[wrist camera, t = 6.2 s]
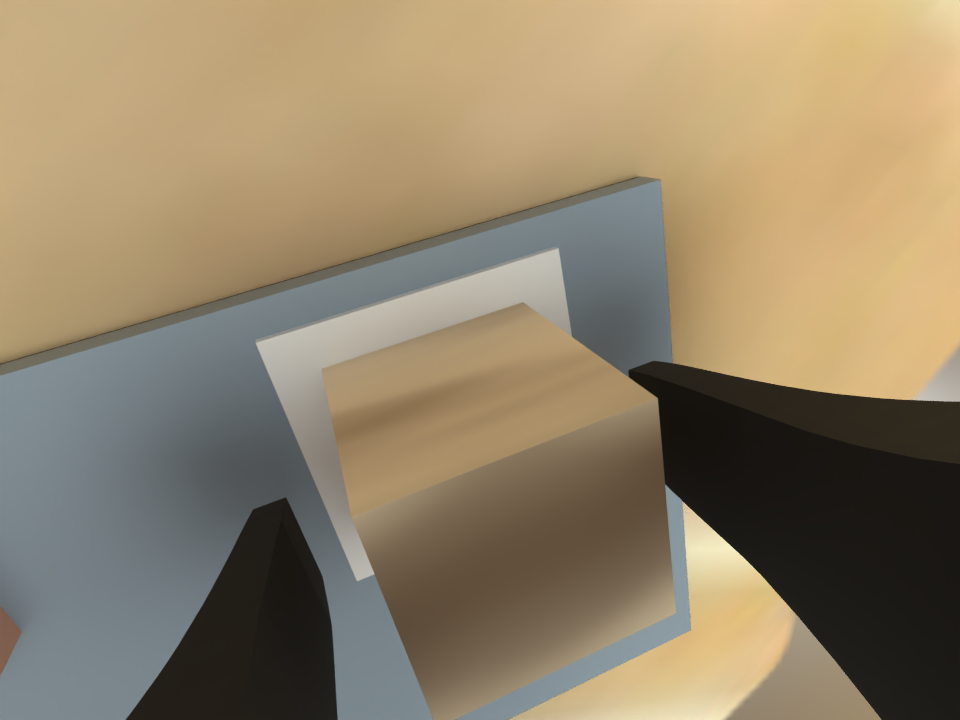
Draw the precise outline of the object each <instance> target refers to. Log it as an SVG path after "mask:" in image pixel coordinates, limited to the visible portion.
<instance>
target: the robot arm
mask: <svg viewBox="0 0 960 720" xmlns="http://www.w3.org/2000/svg"><path fill="white" fill-rule="evenodd" d="M628 374H629V378H630V379H632V380H633V381H634V382H636V383H637V384H639V385H640V386H641V387H643V388H644V389H646V390H647V391H648V392H650V393H651V394H653V395H654V396H655V397H657V398H658V407H659V419H660V430H661V442H662V454H663V466H664V478H665V485H666V486H667V487H668V488H669V489H670V490H671V491H672V492H673V493H675V494H676V495H677V496H678V497H679V498H680V499H681V500H682V501H683V502H684V503H685V504H686V505H687V506H688V507H689V508H690V509H692V510H693V511H694V512H695V513H696V514H697V515H698V516H699V517H700V518H701V519H702V520H704V521H705V522H706V523H707V524H708V525H709V526H710V527H711V528H712V529H713V530H714V531H715V532H717V533H718V534H719V535H720V536H721V537H722V538H723V539H724V540H725V541H726V542H727V543H729V544H730V545H731V546H732V547H733V548H734V549H735V550H736V551H737V552H738V553H739V554H740V555H742V556H743V557H744V558H745V559H746V560H747V561H748V562H749V563H750V564H751V565H752V566H753V567H754V568H755V569H756V570H757V571H758V572H759V573H760V574H761V575H762V576H763V577H764V579H765V580H766V581H767V582H768V583H769V584H770V585H771V586H772V588H773V589H774V590H775V591H776V592H777V593H778V594H779V595H780V597H781V598H782V599H783V600H784V601H785V602H786V603H787V604H788V606H789V607H790V608H791V609H792V610H793V611H794V612H795V613H796V615H797V616H798V617H799V618H800V619H801V620H802V622H803V623H804V624H805V625H806V626H807V628H808V629H809V630H810V631H811V632H812V634H813V635H814V636H815V637H816V638H817V639H818V641H819V642H820V643H821V644H822V645H823V647H824V648H825V649H826V650H827V651H828V653H829V654H830V655H831V656H832V657H833V659H834V660H835V661H836V662H837V663H838V665H839V666H840V667H841V669H842V670H843V671H844V672H845V674H846V675H847V676H848V677H849V679H850V680H851V681H852V683H853V684H854V685H855V686H856V687H857V689H858V690H859V691H860V693H861V694H862V695H863V696H864V697H865V699H866V700H867V701H868V703H869V704H870V705H871V706H872V708H873V709H874V710H875V712H876V713H877V714H878V715H879V717H880V718H881V719H882V720H960V402H943V401H918V400H896V399H882V398H870V397H860V396H851V395H841V394H832V393H825V392H817V391H810V390H804V389H798V388H792V387H786V386H780V385H775V384H770V383H764V382H759V381H754V380H749V379H744V378H740V377H735V376H730V375H726V374H721V373H716V372H712V371H707V370H703V369H698V368H693V367H689V366H684V365H679V364H673V363H667V362H660V361H651V362H648V363H646V364H643V365H640V366H638V367H635V368H632V369H630V370H628ZM126 720H338V717H337V699H336V681H335V664H334V648H333V633H332V623H331V617H330V612H329V606H328V601H327V596H326V591H325V585H324V580H323V576H322V574H321V572H320V569H319V567H318V565H317V563H316V561H315V559H314V556H313V554H312V552H311V550H310V548H309V546H308V543H307V541H306V539H305V537H304V535H303V533H302V530H301V528H300V526H299V524H298V522H297V520H296V517H295V515H294V513H293V511H292V509H291V506H290V504H289V502H288V500H287V498H286V497H285V498H282V499H280V500H277V501H274V502H271V503H269V504H266V505H263V506H261V507H258V508H255V509H253V510H252V512H251V514H250V516H249V518H248V520H247V521H246V523H245V525H244V527H243V529H242V531H241V533H240V535H239V537H238V539H237V541H236V543H235V545H234V547H233V549H232V551H231V553H230V555H229V557H228V559H227V561H226V563H225V565H224V566H223V568H222V570H221V572H220V574H219V576H218V578H217V579H216V581H215V583H214V585H213V587H212V589H211V591H210V592H209V594H208V596H207V598H206V600H205V602H204V603H203V605H202V607H201V608H200V610H199V612H198V613H197V615H196V617H195V618H194V620H193V622H192V623H191V625H190V627H189V628H188V630H187V632H186V633H185V635H184V637H183V638H182V640H181V642H180V643H179V645H178V646H177V648H176V649H175V651H174V652H173V654H172V656H171V657H170V659H169V660H168V662H167V663H166V664H165V666H164V667H163V669H162V670H161V672H160V673H159V675H158V676H157V678H156V679H155V680H154V682H153V683H152V684H151V686H150V687H149V689H148V690H147V691H146V693H145V694H144V695H143V697H142V698H141V700H140V701H139V702H138V704H137V705H136V707H135V708H134V709H133V710H132V712H131V713H130V714H129V716H128V717H127V718H126Z"/></svg>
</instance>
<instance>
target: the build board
mask: <svg viewBox="0 0 960 720" xmlns="http://www.w3.org/2000/svg"><path fill="white" fill-rule="evenodd" d="M522 302H524V303H525V304H526V305H528V306H529V307H531V308H532V309H533V310H535V311H536V312H538V313H539V314H540V315H542V316H543V317H545V318H546V319H547V320H549V321H550V322H552V323H553V324H554V325H556V326H557V327H559V328H560V329H561V330H563V331H564V332H566V333H567V334H568V335H570V336H571V337H573V338H574V339H575V340H577V341H578V342H580V343H581V344H582V345H584V346H585V347H587V348H588V349H589V350H591V351H592V352H594V353H595V354H597V355H598V356H599V357H601V358H602V359H604V360H605V361H606V362H608V363H609V364H611V365H612V366H613V367H615V368H616V369H618V370H619V371H620V372H622V373H623V374H625V375H626V376H627V377H629V374H628V370H630V369H632V368H635V367H638V366H640V365H643V364H646V363H648V362H651V361H660V362H667V363H673V358H672V343H671V328H670V313H669V299H668V284H667V269H666V254H665V240H664V225H663V210H662V196H661V181H660V179H653V178H646V177H637V178H634V179H630V180H627V181H624V182H620V183H617V184H613V185H610V186H607V187H603V188H600V189H596V190H593V191H590V192H586V193H583V194H579V195H576V196H573V197H569V198H566V199H562V200H559V201H556V202H552V203H549V204H545V205H542V206H538V207H535V208H532V209H528V210H525V211H521V212H518V213H515V214H511V215H508V216H504V217H501V218H498V219H494V220H491V221H487V222H484V223H481V224H477V225H474V226H470V227H467V228H464V229H460V230H457V231H453V232H450V233H447V234H443V235H440V236H436V237H433V238H430V239H426V240H423V241H419V242H416V243H412V244H409V245H406V246H402V247H399V248H395V249H392V250H389V251H385V252H382V253H378V254H375V255H372V256H368V257H365V258H361V259H358V260H355V261H351V262H348V263H344V264H341V265H338V266H334V267H331V268H327V269H324V270H321V271H317V272H314V273H310V274H307V275H304V276H300V277H297V278H293V279H290V280H286V281H283V282H280V283H276V284H273V285H269V286H266V287H263V288H259V289H256V290H252V291H249V292H246V293H242V294H239V295H235V296H232V297H229V298H225V299H222V300H218V301H215V302H212V303H208V304H205V305H201V306H198V307H195V308H191V309H188V310H184V311H181V312H178V313H174V314H171V315H167V316H164V317H160V318H157V319H154V320H150V321H147V322H143V323H140V324H137V325H133V326H130V327H126V328H123V329H120V330H116V331H113V332H109V333H106V334H103V335H99V336H96V337H92V338H89V339H86V340H82V341H79V342H75V343H72V344H69V345H65V346H62V347H58V348H55V349H52V350H48V351H45V352H41V353H38V354H34V355H31V356H28V357H24V358H21V359H17V360H14V361H11V362H7V363H4V364H0V606H1V607H2V608H3V610H4V611H5V612H6V613H7V614H8V616H9V617H10V618H11V619H12V620H13V622H14V623H15V624H16V625H17V626H18V628H19V629H20V630H21V631H22V633H21V635H20V637H19V639H18V641H17V643H16V645H15V647H14V649H13V651H12V653H11V655H10V657H9V659H8V661H7V664H6V666H5V668H4V670H3V672H2V674H1V676H0V720H126V718H127V717H128V716H129V714H130V713H131V712H132V710H133V709H134V708H135V707H136V705H137V704H138V702H139V701H140V700H141V698H142V697H143V695H144V694H145V693H146V691H147V690H148V689H149V687H150V686H151V684H152V683H153V682H154V680H155V679H156V678H157V676H158V675H159V673H160V672H161V670H162V669H163V667H164V666H165V664H166V663H167V662H168V660H169V659H170V657H171V656H172V654H173V652H174V651H175V649H176V648H177V646H178V645H179V643H180V642H181V640H182V638H183V637H184V635H185V633H186V632H187V630H188V628H189V627H190V625H191V623H192V622H193V620H194V618H195V617H196V615H197V613H198V612H199V610H200V608H201V607H202V605H203V603H204V602H205V600H206V598H207V596H208V594H209V592H210V591H211V589H212V587H213V585H214V583H215V581H216V579H217V578H218V576H219V574H220V572H221V570H222V568H223V566H224V565H225V563H226V561H227V559H228V557H229V555H230V553H231V551H232V549H233V547H234V545H235V543H236V541H237V539H238V537H239V535H240V533H241V531H242V529H243V527H244V525H245V523H246V521H247V520H248V518H249V516H250V514H251V512H252V510H253V509H255V508H258V507H261V506H263V505H266V504H269V503H271V502H274V501H277V500H280V499H282V498H285V497H286V498H287V500H288V502H289V504H290V506H291V509H292V511H293V513H294V515H295V517H296V520H297V522H298V524H299V526H300V528H301V530H302V533H303V535H304V537H305V539H306V541H307V543H308V546H309V548H310V550H311V552H312V554H313V556H314V559H315V561H316V563H317V565H318V567H319V569H320V572H321V574H322V576H323V580H324V585H325V591H326V596H327V601H328V606H329V612H330V617H331V623H332V633H333V648H334V664H335V681H336V699H337V717H338V720H433V717H432V715H431V712H430V710H429V707H428V705H427V703H426V700H425V698H424V695H423V693H422V690H421V688H420V685H419V683H418V680H417V678H416V675H415V673H414V670H413V668H412V666H411V663H410V661H409V658H408V656H407V653H406V651H405V648H404V646H403V643H402V641H401V638H400V636H399V633H398V631H397V629H396V626H395V624H394V621H393V619H392V616H391V614H390V611H389V609H388V606H387V604H386V601H385V599H384V596H383V594H382V592H381V589H380V587H379V584H378V582H377V579H376V577H375V574H374V572H373V569H372V567H371V564H370V562H369V559H368V557H367V554H366V552H365V550H364V547H363V545H362V542H361V540H360V537H359V535H358V532H357V530H356V527H355V525H354V522H353V520H352V517H351V513H350V508H349V503H348V498H347V493H346V488H345V483H344V478H343V473H342V468H341V463H340V458H339V453H338V448H337V443H336V438H335V433H334V429H333V424H332V419H331V414H330V409H329V404H328V399H327V394H326V389H325V384H324V379H323V374H322V368H325V367H328V366H331V365H334V364H337V363H340V362H343V361H346V360H349V359H352V358H355V357H358V356H361V355H364V354H368V353H371V352H374V351H377V350H380V349H383V348H386V347H389V346H392V345H395V344H398V343H401V342H404V341H407V340H410V339H413V338H416V337H419V336H422V335H425V334H428V333H431V332H434V331H437V330H440V329H443V328H446V327H449V326H452V325H455V324H458V323H461V322H464V321H467V320H470V319H473V318H476V317H479V316H483V315H486V314H489V313H492V312H495V311H498V310H501V309H504V308H507V307H510V306H513V305H516V304H519V303H522ZM665 489H666V501H667V513H668V525H669V537H670V548H671V560H672V572H673V584H674V595H675V607H676V613H675V614H673V615H671V616H669V617H667V618H665V619H663V620H661V621H659V622H657V623H655V624H653V625H650V626H648V627H646V628H644V629H642V630H640V631H638V632H636V633H634V634H632V635H630V636H628V637H626V638H623V639H621V640H619V641H617V642H615V643H613V644H611V645H609V646H607V647H605V648H603V649H601V650H598V651H596V652H594V653H592V654H590V655H588V656H586V657H584V658H582V659H580V660H578V661H576V662H574V663H571V664H569V665H567V666H565V667H563V668H561V669H559V670H557V671H555V672H553V673H551V674H549V675H546V676H544V677H542V678H540V679H538V680H536V681H534V682H532V683H530V684H528V685H526V686H524V687H522V688H519V689H517V690H515V691H513V692H511V693H509V694H507V695H505V696H503V697H501V698H499V699H497V700H494V701H492V702H490V703H488V704H486V705H484V706H482V707H480V708H478V709H476V710H474V711H472V712H469V713H467V714H465V715H463V716H461V717H459V718H457V719H455V720H508V719H511V718H513V717H515V716H517V715H519V714H521V713H523V712H525V711H527V710H529V709H531V708H533V707H535V706H537V705H539V704H541V703H543V702H545V701H547V700H549V699H551V698H553V697H555V696H557V695H559V694H562V693H564V692H566V691H568V690H570V689H572V688H574V687H576V686H578V685H580V684H582V683H584V682H586V681H588V680H590V679H592V678H594V677H596V676H598V675H600V674H602V673H604V672H606V671H608V670H611V669H613V668H615V667H617V666H619V665H621V664H623V663H625V662H627V661H629V660H631V659H633V658H635V657H637V656H639V655H641V654H643V653H645V652H647V651H649V650H651V649H653V648H655V647H657V646H660V645H662V644H664V643H666V642H668V641H670V640H672V639H674V638H676V637H678V636H680V635H682V634H684V633H686V632H688V631H690V630H691V623H690V608H689V593H688V578H687V564H686V549H685V534H684V520H683V505H682V500H681V499H680V498H679V497H678V496H677V495H676V494H675V493H673V492H672V491H671V490H670V489H669V488H668V487H667V486H666V485H665Z"/></svg>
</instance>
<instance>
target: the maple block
mask: <svg viewBox="0 0 960 720" xmlns="http://www.w3.org/2000/svg"><path fill="white" fill-rule="evenodd" d="M322 374H323V379H324V384H325V389H326V394H327V399H328V404H329V409H330V414H331V419H332V424H333V429H334V433H335V438H336V443H337V448H338V453H339V458H340V463H341V468H342V473H343V478H344V483H345V488H346V493H347V498H348V503H349V508H350V513H351V517H352V520H353V522H354V525H355V527H356V530H357V532H358V535H359V537H360V540H361V542H362V545H363V547H364V550H365V552H366V554H367V557H368V559H369V562H370V564H371V567H372V569H373V572H374V574H375V577H376V579H377V582H378V584H379V587H380V589H381V592H382V594H383V596H384V599H385V601H386V604H387V606H388V609H389V611H390V614H391V616H392V619H393V621H394V624H395V626H396V629H397V631H398V633H399V636H400V638H401V641H402V643H403V646H404V648H405V651H406V653H407V656H408V658H409V661H410V663H411V666H412V668H413V670H414V673H415V675H416V678H417V680H418V683H419V685H420V688H421V690H422V693H423V695H424V698H425V700H426V703H427V705H428V707H429V710H430V712H431V715H432V717H433V720H455V719H457V718H459V717H461V716H463V715H465V714H467V713H469V712H472V711H474V710H476V709H478V708H480V707H482V706H484V705H486V704H488V703H490V702H492V701H494V700H497V699H499V698H501V697H503V696H505V695H507V694H509V693H511V692H513V691H515V690H517V689H519V688H522V687H524V686H526V685H528V684H530V683H532V682H534V681H536V680H538V679H540V678H542V677H544V676H546V675H549V674H551V673H553V672H555V671H557V670H559V669H561V668H563V667H565V666H567V665H569V664H571V663H574V662H576V661H578V660H580V659H582V658H584V657H586V656H588V655H590V654H592V653H594V652H596V651H598V650H601V649H603V648H605V647H607V646H609V645H611V644H613V643H615V642H617V641H619V640H621V639H623V638H626V637H628V636H630V635H632V634H634V633H636V632H638V631H640V630H642V629H644V628H646V627H648V626H650V625H653V624H655V623H657V622H659V621H661V620H663V619H665V618H667V617H669V616H671V615H673V614H675V613H676V607H675V595H674V584H673V572H672V560H671V548H670V537H669V525H668V513H667V501H666V489H665V478H664V466H663V454H662V442H661V430H660V419H659V407H658V398H657V397H655V396H654V395H653V394H651V393H650V392H648V391H647V390H646V389H644V388H643V387H641V386H640V385H639V384H637V383H636V382H634V381H633V380H632V379H630V378H629V377H627V376H626V375H625V374H623V373H622V372H620V371H619V370H618V369H616V368H615V367H613V366H612V365H611V364H609V363H608V362H606V361H605V360H604V359H602V358H601V357H599V356H598V355H597V354H595V353H594V352H592V351H591V350H589V349H588V348H587V347H585V346H584V345H582V344H581V343H580V342H578V341H577V340H575V339H574V338H573V337H571V336H570V335H568V334H567V333H566V332H564V331H563V330H561V329H560V328H559V327H557V326H556V325H554V324H553V323H552V322H550V321H549V320H547V319H546V318H545V317H543V316H542V315H540V314H539V313H538V312H536V311H535V310H533V309H532V308H531V307H529V306H528V305H526V304H525V303H524V302H522V303H519V304H516V305H513V306H510V307H507V308H504V309H501V310H498V311H495V312H492V313H489V314H486V315H483V316H479V317H476V318H473V319H470V320H467V321H464V322H461V323H458V324H455V325H452V326H449V327H446V328H443V329H440V330H437V331H434V332H431V333H428V334H425V335H422V336H419V337H416V338H413V339H410V340H407V341H404V342H401V343H398V344H395V345H392V346H389V347H386V348H383V349H380V350H377V351H374V352H371V353H368V354H364V355H361V356H358V357H355V358H352V359H349V360H346V361H343V362H340V363H337V364H334V365H331V366H328V367H325V368H322Z"/></svg>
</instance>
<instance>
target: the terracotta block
mask: <svg viewBox="0 0 960 720" xmlns="http://www.w3.org/2000/svg"><path fill="white" fill-rule="evenodd" d="M21 633H22V631H21V630H20V629H19V628H18V626H17V625H16V624H15V623H14V622H13V620H12V619H11V618H10V617H9V616H8V614H7V613H6V612H5V611H4V610H3V608H2V607H1V606H0V676H1V674H2V672H3V670H4V668H5V666H6V664H7V661H8V659H9V657H10V655H11V653H12V651H13V649H14V647H15V645H16V643H17V641H18V639H19V637H20V635H21Z"/></svg>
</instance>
